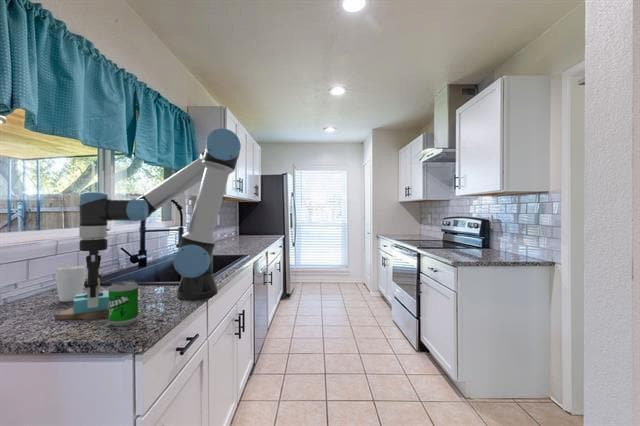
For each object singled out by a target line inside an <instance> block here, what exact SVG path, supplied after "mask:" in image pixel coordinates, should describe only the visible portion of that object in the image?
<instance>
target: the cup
mask: <svg viewBox="0 0 640 426" xmlns="http://www.w3.org/2000/svg"><path fill="white" fill-rule="evenodd" d="M86 276H87V274H86V266H84V265H70V266H61V267H58V268H55V277H54V278H55V284H56V290H57V295H58V300H59V301H60V302H62V303H63V302H64V303H65V302H74V299H75V296H76V294H82V293H84V288H85V280H86Z"/></svg>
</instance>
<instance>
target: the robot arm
mask: <svg viewBox="0 0 640 426" xmlns="http://www.w3.org/2000/svg"><path fill="white" fill-rule="evenodd" d="M241 149H242V145H241V141H240V139H239V137H238V135H237V134H236V133H235V132H234V131H232V130H231V129H227V128H224V127H223V128H216V129H213V130H212V131H210V132H209V133H208V135H207V137H206V139H205V149H204V151H203V152H201V153H200V154H199V157H198V158H197V159H195V160H194V161H192V162H191V163H189V164H188V165H186V166H185V167H183V168H182V169H180V170H179V171H177V172H176V173H174V174H172V175H171V176H169V177H168V178H166V179H165V180H163V181H162V182H160V183H158V184H157V185H156V186H154V187H153V188H151V189H149V190H148V191H146V192H145V193H144V194H142V195H141V196H139V197H137V198H109V197H108V193H106V192H99V191H96V192H93V191H84V192H82V193H81V194H80V197H79V205H78V207H79V226H78V227H79V232H78V234H79V235H78V237H79V238H80V240H79V251H80V252H88V255H86V257H85V262H86V269H87V281H88V284H84V289H87V288H88V298H87V308H93V307H98V279H100V278H102V274H100V272H99V269H100V267H101V261H102V255H101V254H100V251H101V252H102V251H106V250H107V249H108V239H107V237H108V232H110V228H109V227H108V221H109V222H110V221H113V222H114V221H116V222H117V221H121V222H123V221H125V222H128V221H130V222H138V221H145V220H147V219H148V218H149V217H151V215H152V214H153V213H155V212H156V211H157V210H159V209H160V208H162V207H163V206H165V205H166V204H168V203H169V202H171V201H172V200H174V199H175V198H177V197H178V196H180V195H182V194H183V193H185V192H186V191H187V190H189V189H191V188H192V187H193V186H195V185H197V184H198V183H200V185H199V189H198V193H197V195H196V200H195V203H194V207H193V211H192V215H191V219H190V222H189V226H188V229H187V232H185V233H183V234H182V235H181V238H180V241H179V244H178V248H177V251H176V252H175V254H174V256H173V266H174V269H175V271H176V272H177V273H178V274H179V275H180V276H181V279H180V281H179V284H178V287H177V291H176V298H177V299H180V300H187V301H195V300H203V299H208V298H209V299H210V298H212V297H215V296H217V294H218V286H217V283H216V280H215V278H214V272H213V270H214V249H215V245H216V240H215V239H214V238H213V236H214V231H215V228H216V224H217V221H218V217H219V215H220V214H219V213H220V209H221V207H222V206H221V205H222V202H223V200H224V199H223V198H224V194H225V191H226V187H227V185H228V184H227V183H228V180H229V175H231V174H232V173H234V172H235V170H236V166H237V162H238V158H239V157H240V152H241Z"/></svg>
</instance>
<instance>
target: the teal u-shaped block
mask: <svg viewBox="0 0 640 426" xmlns="http://www.w3.org/2000/svg"><path fill="white" fill-rule="evenodd" d="M108 303H109V289H108V290H100V296H98V307H93V308H87V292H85V293H84V292H83V293H82V294H76V296H75V299H74V301H73V306H72V307H73V314H78V313H85V312H92V311H98V310H105V309H108Z"/></svg>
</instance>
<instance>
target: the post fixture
mask: <svg viewBox="0 0 640 426" xmlns="http://www.w3.org/2000/svg"><path fill="white" fill-rule="evenodd" d="M86 282H87V284H88V280H87V281H86ZM87 284H86V285H87ZM86 289H87V291H86V293H87V298H88V288H86ZM100 291H101V279H100V278H99V279H98V296H100ZM73 307H74V306H72V307H70V308H67V309H65V310H63V311H61V312H57V313H56V314H55V313H54V320H90V319H91V320H92V319H104V318H106V317H108V309H105V310H98V311H92V312H85V313H78V314H73Z"/></svg>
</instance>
